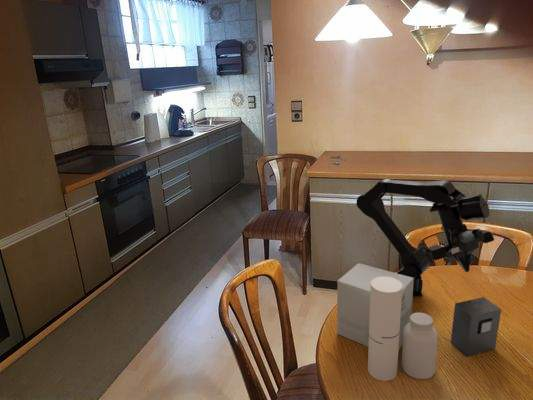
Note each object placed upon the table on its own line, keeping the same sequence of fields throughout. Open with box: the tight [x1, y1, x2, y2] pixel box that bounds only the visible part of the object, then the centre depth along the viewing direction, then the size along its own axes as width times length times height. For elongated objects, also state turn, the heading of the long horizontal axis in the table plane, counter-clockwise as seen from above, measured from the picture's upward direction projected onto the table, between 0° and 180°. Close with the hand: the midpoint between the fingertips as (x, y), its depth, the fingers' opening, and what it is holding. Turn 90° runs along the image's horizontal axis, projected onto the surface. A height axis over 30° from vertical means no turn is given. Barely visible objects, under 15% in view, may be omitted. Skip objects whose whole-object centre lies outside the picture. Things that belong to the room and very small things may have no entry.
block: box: [450, 296, 502, 358], centre depth 105 cm, size 6×9×12 cm, turn 105°
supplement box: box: [336, 262, 414, 351], centre depth 111 cm, size 17×13×18 cm
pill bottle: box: [401, 312, 439, 380], centre depth 98 cm, size 8×8×15 cm
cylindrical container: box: [367, 277, 402, 382], centre depth 96 cm, size 7×7×25 cm
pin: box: [478, 319, 492, 333], centre depth 105 cm, size 8×5×5 cm, turn 15°
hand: (467, 271), depth 118 cm, fingers closed
